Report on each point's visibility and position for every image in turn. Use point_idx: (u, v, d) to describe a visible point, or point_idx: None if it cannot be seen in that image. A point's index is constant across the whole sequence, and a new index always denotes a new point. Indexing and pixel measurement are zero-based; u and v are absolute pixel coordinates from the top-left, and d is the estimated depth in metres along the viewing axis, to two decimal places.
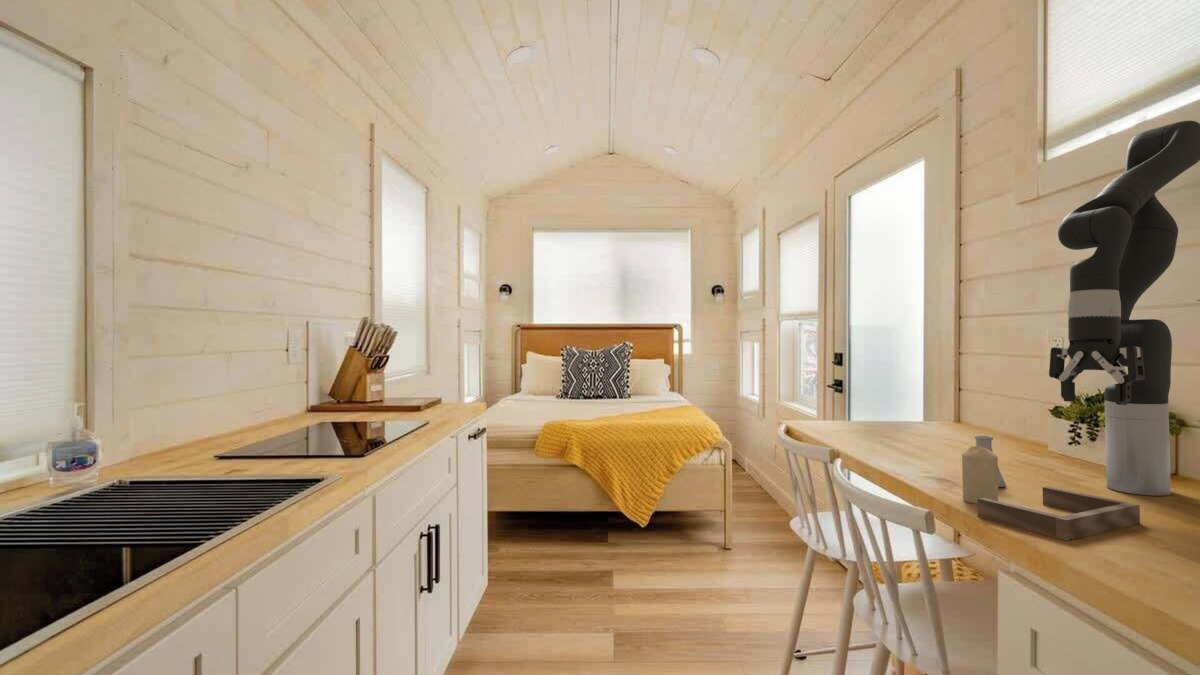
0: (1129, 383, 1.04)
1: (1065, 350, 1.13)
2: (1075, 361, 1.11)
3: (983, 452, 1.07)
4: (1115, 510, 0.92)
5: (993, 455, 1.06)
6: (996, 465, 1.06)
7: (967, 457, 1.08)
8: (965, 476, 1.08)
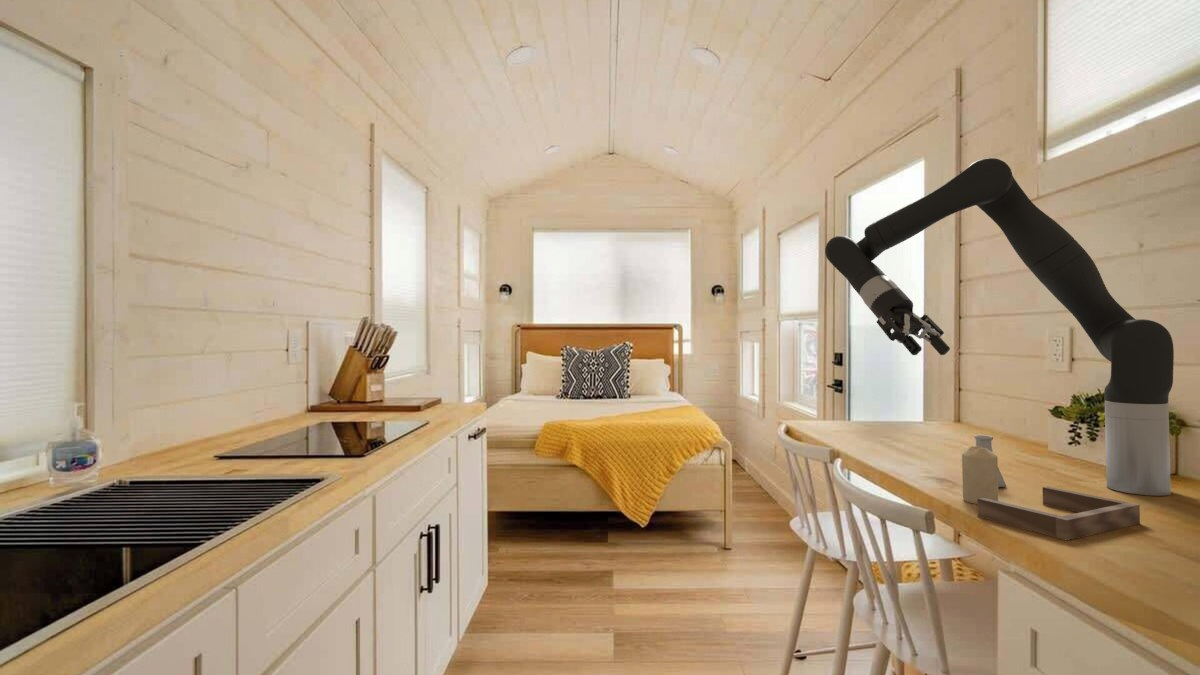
0: (902, 338, 1.21)
1: None
2: None
3: (983, 452, 1.07)
4: (1115, 510, 0.92)
5: (993, 455, 1.06)
6: (996, 465, 1.06)
7: (967, 456, 1.08)
8: (965, 476, 1.08)
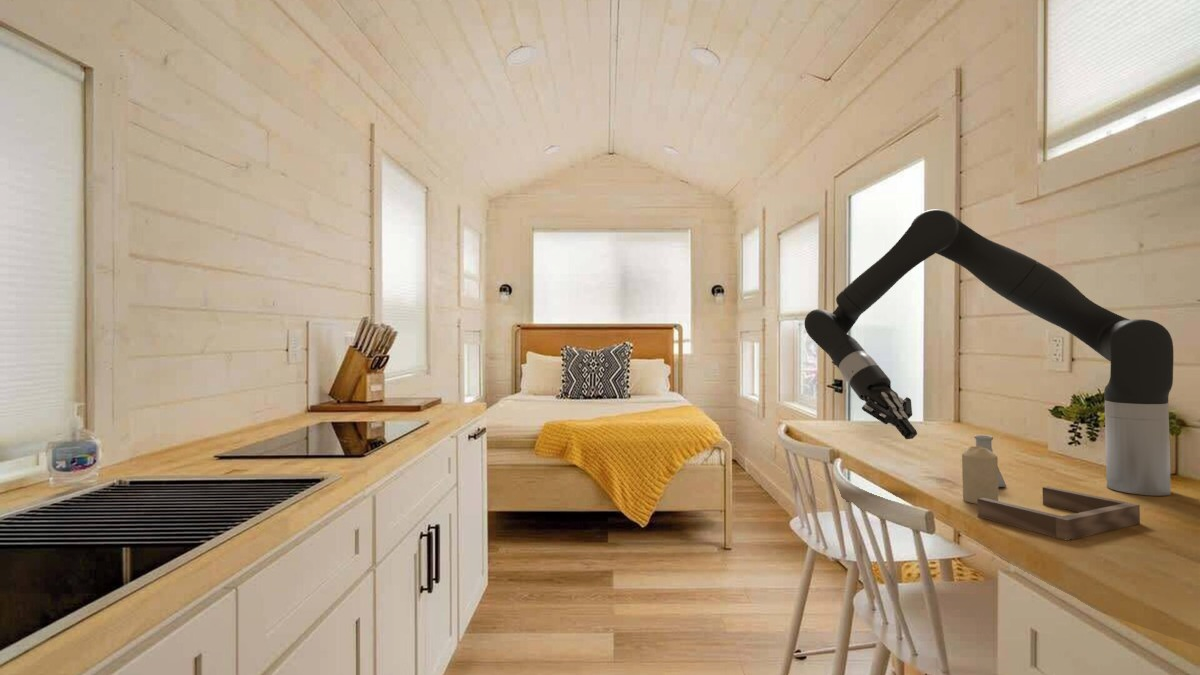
0: (895, 422, 1.24)
1: None
2: None
3: (983, 452, 1.07)
4: (1115, 510, 0.92)
5: (993, 455, 1.06)
6: (996, 465, 1.06)
7: (967, 456, 1.08)
8: (965, 476, 1.08)
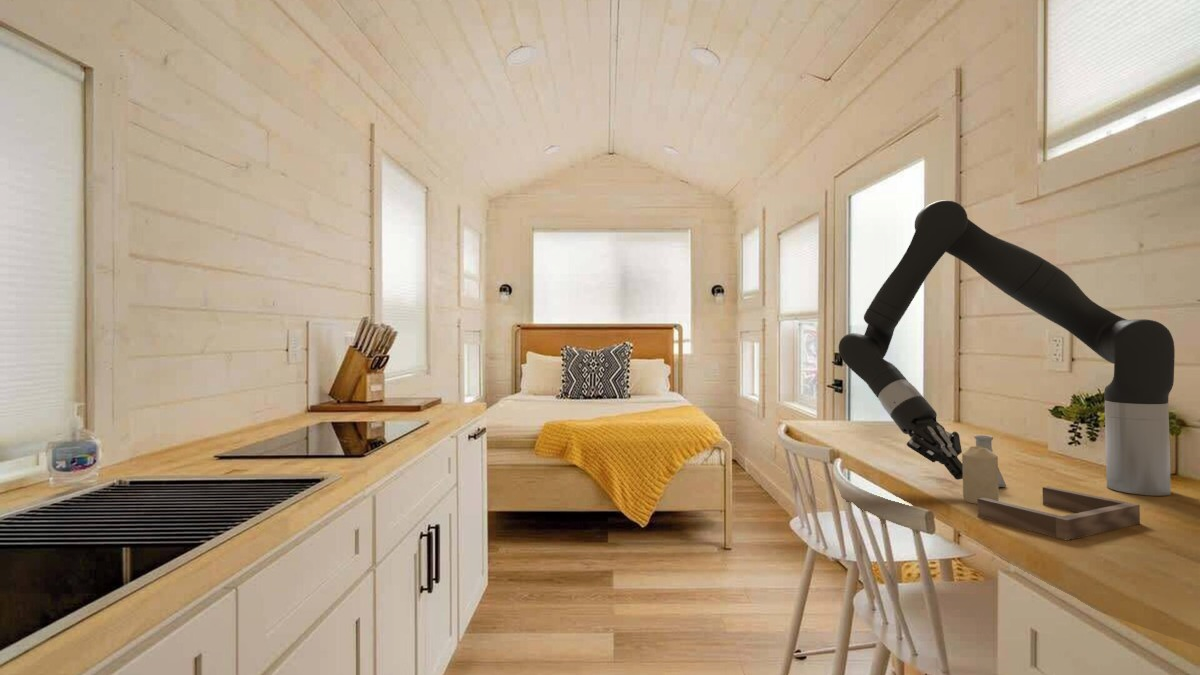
0: (944, 460, 1.13)
1: None
2: None
3: (983, 452, 1.06)
4: (1115, 510, 0.92)
5: (993, 455, 1.06)
6: (996, 465, 1.06)
7: (967, 457, 1.08)
8: (965, 476, 1.08)
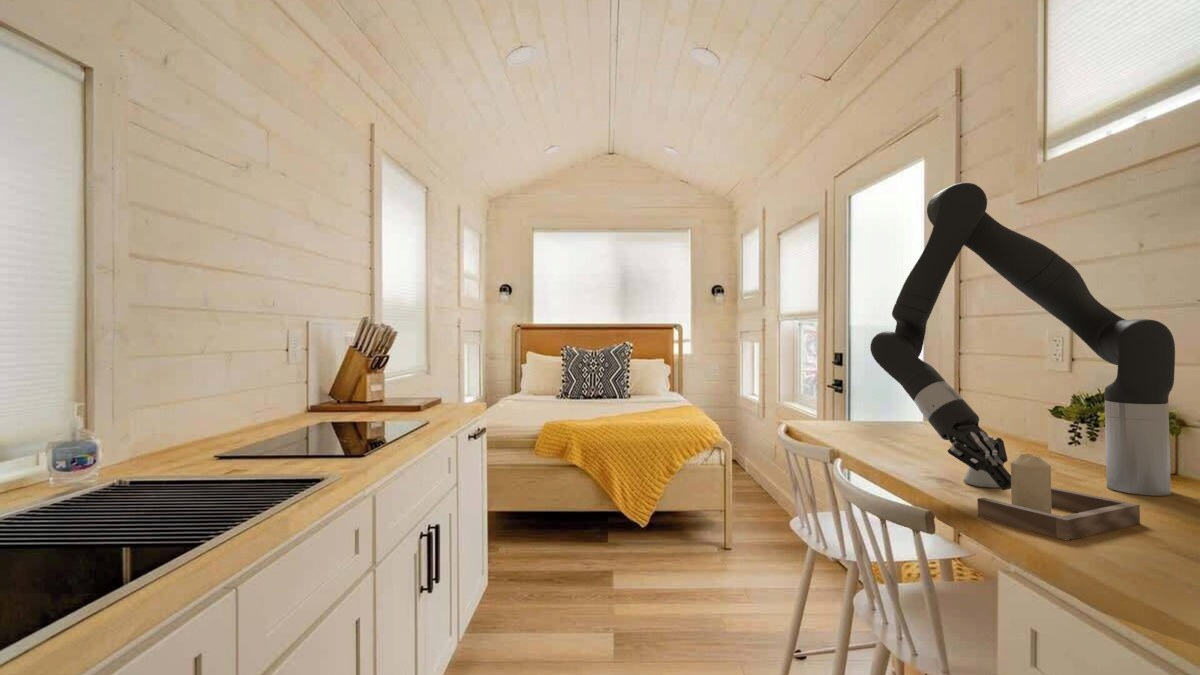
0: (988, 469, 1.05)
1: None
2: None
3: (1037, 460, 0.98)
4: (1115, 510, 0.92)
5: (1047, 463, 0.98)
6: (1050, 474, 0.98)
7: (1020, 466, 0.99)
8: (1016, 486, 1.00)
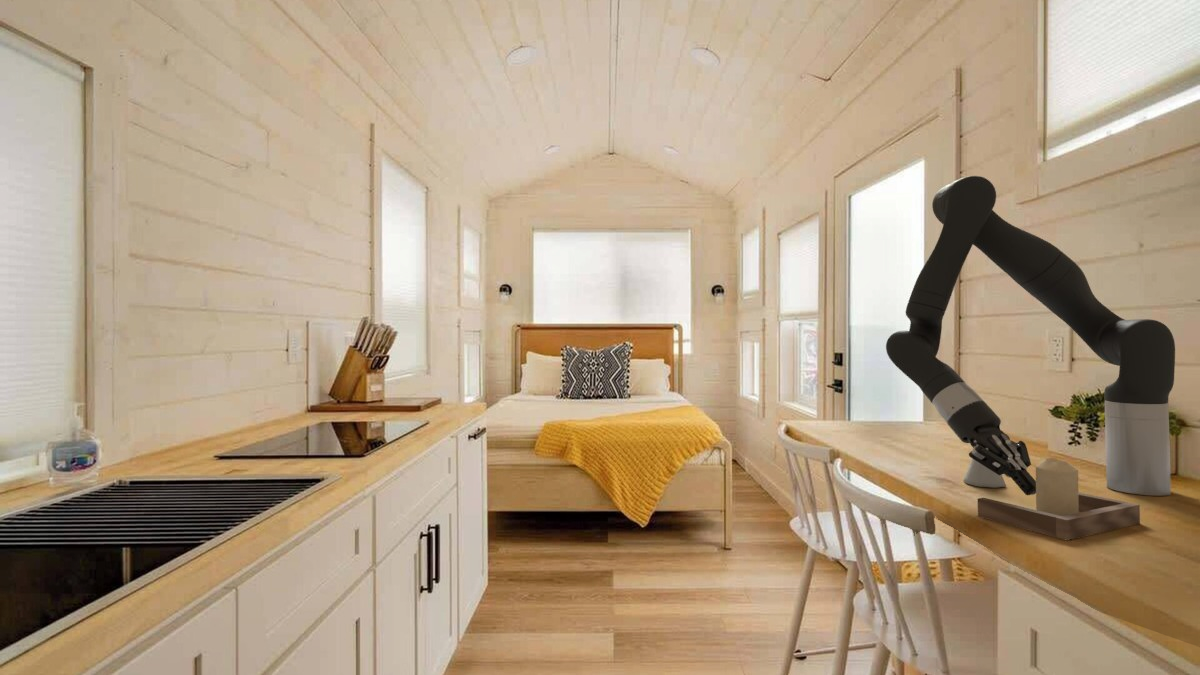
0: (1012, 473, 1.01)
1: None
2: None
3: (1064, 465, 0.95)
4: (1115, 510, 0.92)
5: (1074, 468, 0.95)
6: (1077, 479, 0.95)
7: (1046, 470, 0.95)
8: (1042, 492, 0.96)
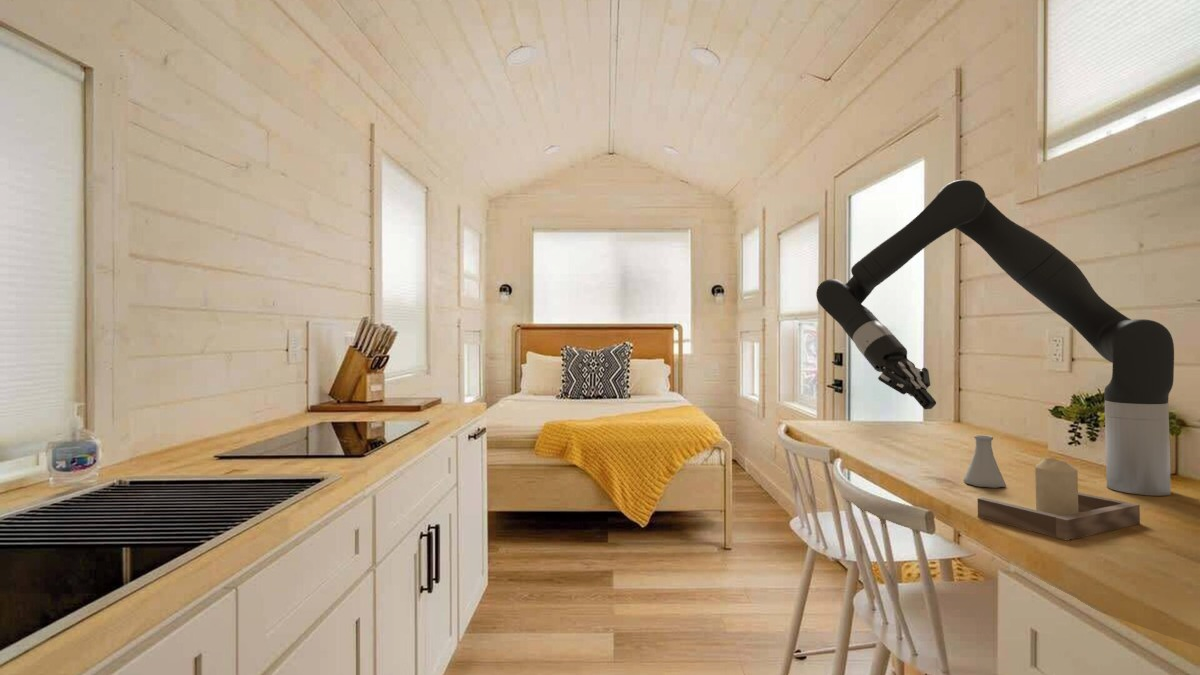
0: (913, 392, 1.19)
1: None
2: None
3: (1063, 465, 0.95)
4: (1115, 510, 0.92)
5: (1074, 468, 0.95)
6: (1077, 479, 0.95)
7: (1045, 470, 0.95)
8: (1041, 492, 0.96)
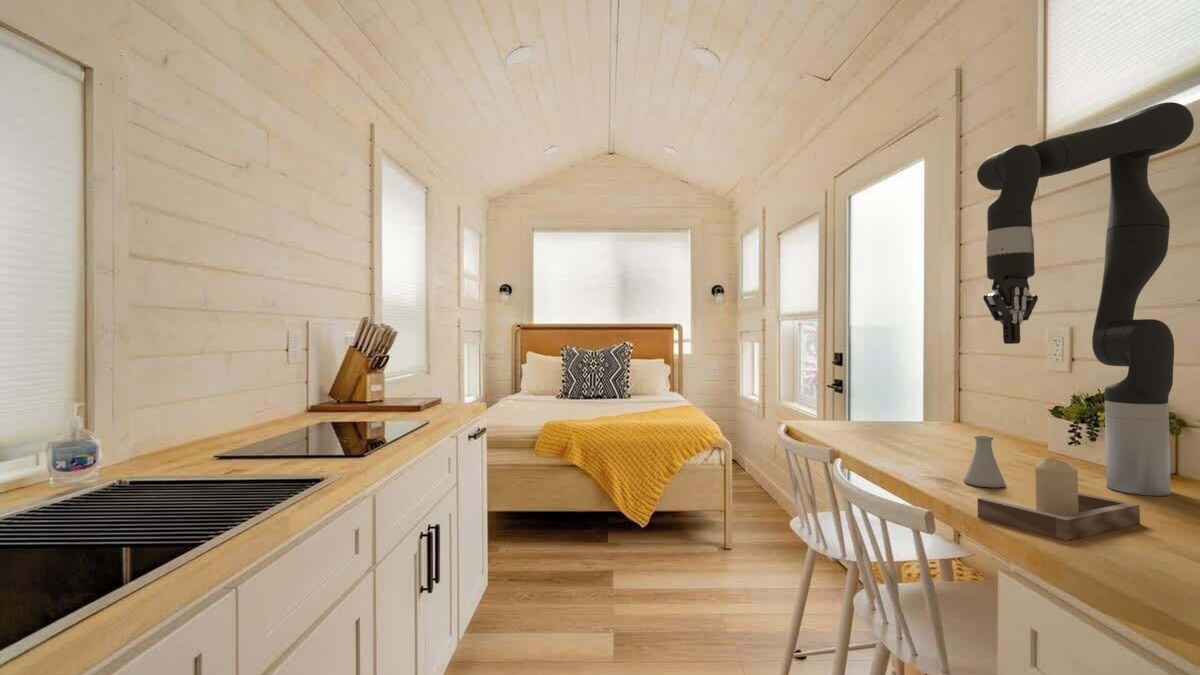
0: (1006, 323, 1.12)
1: None
2: None
3: (1064, 465, 0.95)
4: (1115, 510, 0.92)
5: (1074, 468, 0.95)
6: (1077, 479, 0.95)
7: (1045, 470, 0.95)
8: (1041, 492, 0.96)
